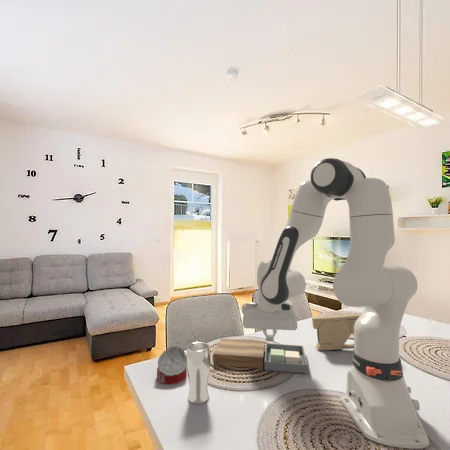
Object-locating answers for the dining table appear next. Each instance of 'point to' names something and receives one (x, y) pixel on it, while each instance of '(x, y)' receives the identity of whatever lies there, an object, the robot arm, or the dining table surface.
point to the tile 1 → (277, 355)
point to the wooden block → (239, 353)
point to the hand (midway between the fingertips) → (269, 340)
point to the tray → (284, 366)
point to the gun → (334, 331)
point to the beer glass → (198, 371)
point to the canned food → (172, 366)
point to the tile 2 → (292, 357)
